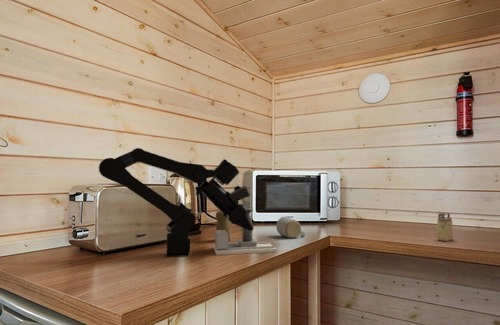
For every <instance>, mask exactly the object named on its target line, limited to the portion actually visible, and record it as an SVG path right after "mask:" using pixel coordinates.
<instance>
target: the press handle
mask: <svg viewBox="0 0 500 325" xmlns="http://www.w3.org/2000/svg"><path fill="white" fill-rule="evenodd" d="M246 208H247V210H246V213H245V216H246V218H247V219H248V221H249V222H250V224H251V225H252V226H253V210H254V209H253V208H252V207H251V208H249V207H246ZM257 242H258V241H256V240H255V239H254V238H253V230H252V231H250V230H247V229H245V228H243V227H242V239H241V238H240V239H238V240H237V243H238V245H239V246H240V247H257Z"/></svg>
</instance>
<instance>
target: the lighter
mask: <svg viewBox="0 0 500 325" xmlns="http://www.w3.org/2000/svg"><path fill="white" fill-rule="evenodd" d="M446 215H447V216H446ZM437 216H438V217H437V221H436V223H437V224H436V225H437V229H436V230H437V241H445V242H447V241H453V240H454V236H453V235H454V233H453V232H454V230H453V229H454V227H453V219H452V217H451V215H450V213H449V212H447V213H445V212H440V213H438V214H437ZM445 216H446V217H445Z"/></svg>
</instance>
